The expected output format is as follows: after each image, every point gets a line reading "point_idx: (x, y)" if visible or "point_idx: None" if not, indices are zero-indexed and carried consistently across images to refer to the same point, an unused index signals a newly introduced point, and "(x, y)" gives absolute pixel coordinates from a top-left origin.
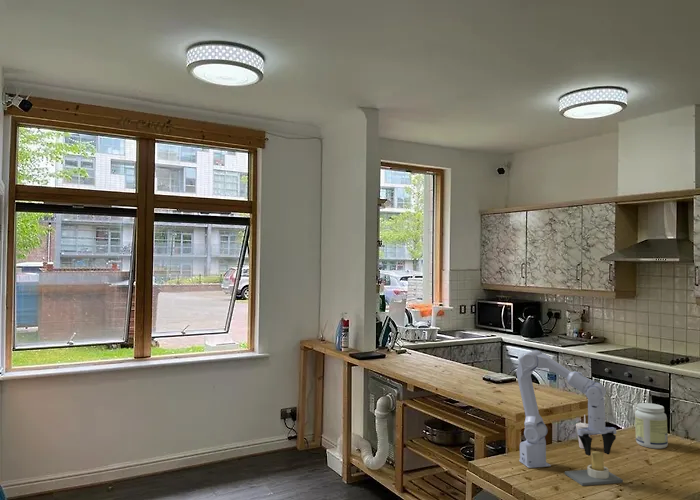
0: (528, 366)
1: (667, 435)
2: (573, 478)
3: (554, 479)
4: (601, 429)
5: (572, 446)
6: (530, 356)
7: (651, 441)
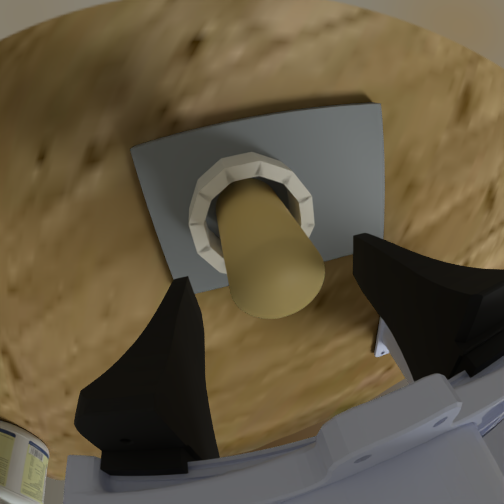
0: None
1: None
2: (380, 175)
3: (437, 182)
4: (408, 488)
5: None
6: None
7: (12, 438)
